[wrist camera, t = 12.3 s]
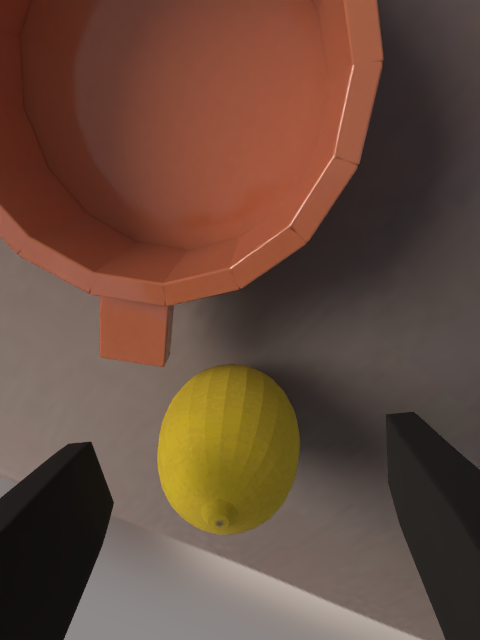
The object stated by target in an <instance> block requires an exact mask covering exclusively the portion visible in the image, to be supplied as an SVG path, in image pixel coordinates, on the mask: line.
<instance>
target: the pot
mask: <svg viewBox="0 0 480 640" xmlns="http://www.w3.org/2000/svg"><path fill="white" fill-rule="evenodd" d="M383 60H384V54H383V45H382V36H381V27H380V18H379V9H378V0H0V237H1V238H2V239H3V240H4V241H5V242H6V243H7V244H8V245H9V246H10V247H11V248H12V249H13V251H14V252H15V253H16V254H19V256H20V257H22V258H24V259H26V260H28V261H30V262H31V263H33V264H35V265H37V266H39V267H41V268H42V269H44V270H46V271H48V272H50V273H52V274H53V275H55V276H57V277H59V278H61V279H63V280H64V281H66V282H68V283H70V284H72V285H74V286H75V287H77V288H79V289H81V290H83V291H85V292H86V293H89V294H90V293H91V294H92V295H96V296H100V357H102V358H108V359H115V360H121V361H128V362H134V363H140V364H147V365H153V366H160V367H164V366H165V364H166V362H167V359H168V357H169V355H170V347H171V335H172V322H173V310H174V305H175V304H179V303H184V302H188V301H193V300H197V299H202V298H206V297H210V296H215V295H219V294H224V293H228V292H233V291H237V290H239V289H240V288H241V289H242V288H244V287H246V286H247V285H248V284H250V283H251V282H253V281H254V280H256V279H257V278H259V277H260V276H261V275H263V274H264V273H266V272H267V271H269V270H270V269H271V268H273V267H274V266H276V265H277V264H279V263H280V262H282V261H283V260H284V259H286V258H287V257H289V256H290V255H292V254H293V253H295V252H296V251H297V250H299V249H300V248H302V247H303V246H305V245H306V243H307V242H308V241H310V239H311V238H312V236H313V235H314V233H315V232H316V230H317V229H318V227H319V226H320V224H321V223H322V221H323V220H324V218H325V217H326V215H327V214H328V212H329V211H330V209H331V208H332V206H333V205H334V203H335V202H336V200H337V199H338V197H339V196H340V194H341V193H342V191H343V190H344V188H345V187H346V185H347V184H348V182H349V181H350V179H351V178H352V176H353V175H354V173H355V172H356V170H357V169H358V166H357V165H359V163H360V161H361V157H362V152H363V148H364V144H365V140H366V136H367V131H368V127H369V123H370V119H371V115H372V110H373V106H374V102H375V98H376V94H377V90H378V85H379V81H380V77H381V73H382V69H383V62H382V61H383Z"/></svg>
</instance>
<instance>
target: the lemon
mask: <svg viewBox="0 0 480 640" xmlns="http://www.w3.org/2000/svg"><path fill="white" fill-rule="evenodd" d="M299 450H300V436H299V430H298V425H297V419H296V415H295V412H294V410H293V407H292V405H291V403H290V402H289V400H288V398H287V396H286V394H285V392H284V391H283V390H282V389H281V388H280V387H279V386H278V385H277V383H276V382H275V381H274V380H273V379H272V378H270V377H269V376H267V375H266V374H264V373H262V372H261V371H259V370H256V369H253V368H251V367H248V366H243V365H236V364H229V365H219V366H215V367H212V368H209V369H206V370H204V371H202V372H201V373H199V374H198V375H196V376H194V377H193V378H191V379H190V380H189V381H188V382H187V383H186V384H185V385H184V386H183V387H182V388H181V389H180V391H179V392H178V393H177V394H176V395H175V397H174V398H173V400H172V402H171V404H170V406H169V408H168V410H167V412H166V415H165V417H164V419H163V422H162V425H161V430H160V436H159V444H158V455H157V462H158V471H159V476H160V481H161V485H162V489H163V491H164V493H165V495H166V497H167V499H168V501H169V502H170V504H171V506H172V507H173V508H174V509H175V510H176V511H177V512H178V514H179V515H180V516H181V517H182V518H183V519H185V520H186V521H187V522H189V523H190V524H192V525H193V526H195V527H197V528H199V529H201V530H204V531H206V532H210V533H215V534H225V535H230V534H237V533H242V532H245V531H248V530H251V529H254V528H256V527H257V526H259V525H261V524H262V523H264V522H265V521H267V520H268V519H270V518H271V517H272V516H273V515H274V514H275V512H276V511H277V510H278V509H279V508H280V507H281V506H282V505H283V503H284V501H285V499H286V497H287V495H288V493H289V491H290V489H291V487H292V485H293V482H294V479H295V475H296V471H297V466H298V458H299Z"/></svg>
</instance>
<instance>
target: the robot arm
mask: <svg viewBox="0 0 480 640" xmlns="http://www.w3.org/2000/svg"><path fill="white" fill-rule="evenodd" d="M386 429H387V458H388V483H389V487H390V491H391V494H392V498H393V502H394V505H395V509H396V512H397V516H398V519H399V523H400V526H401V529H402V531H403V534H404V537H405V539H406V542H407V544H408V547H409V549H410V552H411V554H412V557H413V559H414V562H415V564H416V567H417V569H418V572H419V574H420V577H421V579H422V582H423V584H424V587H425V589H426V592H427V594H428V597H429V599H430V602H431V604H432V607H433V609H434V612H435V614H436V617H437V619H438V621H439V624H440V626H441V629H442V631H443V634H444V637H445V639H446V640H480V470H479V469H478V468H477V467H476V466H474V465H473V464H472V463H471V462H470V461H468V460H467V459H466V458H465V457H464V456H463V455H461V454H460V453H459V452H458V451H457V450H456V449H455V448H453V447H452V446H451V445H450V444H449V443H448V442H447V441H445V440H444V439H443V438H442V437H441V436H440V435H439V434H438V433H437V432H436V431H434V430H433V429H432V428H431V427H430V426H429V425H428V424H427V423H426V422H425V421H424V420H422V419H421V418H420V417H419V416H418V415H417V414H415V413H414V412H408V413H397V414H386ZM113 504H114V502H113V499H112V496H111V494H110V491H109V488H108V486H107V483H106V480H105V478H104V475H103V472H102V470H101V467H100V464H99V461H98V459H97V456H96V453H95V451H94V448H93V445H92V443H91V442H83V443H72V444H68V445H66V446H65V447H63V448H62V449H61V450H59V451H58V452H57V453H55V454H54V455H53V456H51V457H50V458H49V459H48V460H46V461H45V462H44V463H43V464H41V465H40V466H39V467H38V468H37V469H35V470H34V471H33V472H32V473H30V474H29V475H28V476H27V477H26V478H24V479H23V480H22V481H21V482H20V483H18V484H17V485H16V486H15V487H14V488H12V489H11V490H10V491H9V492H7V493H6V494H5V495H4V496H3V497H1V498H0V640H64V638H65V635H66V633H67V630H68V628H69V625H70V623H71V621H72V618H73V616H74V613H75V611H76V609H77V606H78V603H79V601H80V599H81V596H82V594H83V592H84V589H85V587H86V584H87V582H88V579H89V577H90V575H91V572H92V570H93V567H94V564H95V562H96V560H97V557H98V555H99V552H100V550H101V547H102V544H103V541H104V538H105V534H106V531H107V527H108V524H109V520H110V516H111V512H112V508H113Z"/></svg>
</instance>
